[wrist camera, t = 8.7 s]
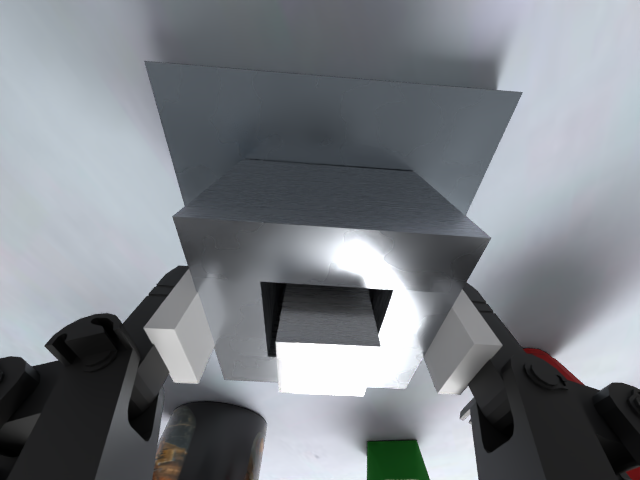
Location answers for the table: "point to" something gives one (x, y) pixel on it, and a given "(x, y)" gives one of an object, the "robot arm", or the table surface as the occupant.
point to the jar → (210, 443)
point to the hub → (325, 257)
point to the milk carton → (395, 461)
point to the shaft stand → (335, 150)
